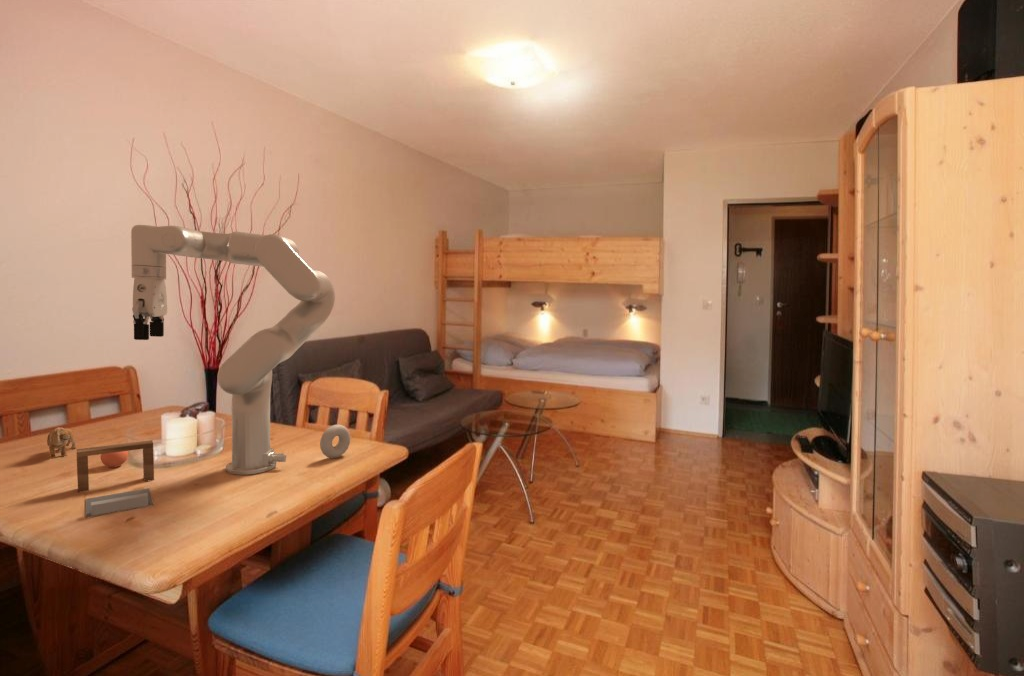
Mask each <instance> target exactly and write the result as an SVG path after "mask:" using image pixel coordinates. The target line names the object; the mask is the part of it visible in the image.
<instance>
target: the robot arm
mask: <svg viewBox="0 0 1024 676" xmlns="http://www.w3.org/2000/svg"><path fill="white" fill-rule="evenodd" d="M130 235H131V236H130V239H131V241H130V242H131V243H130V244H131V245H130V246H131V247H130V248H131V250H130V251H131V252H130V253H131V255H130V256H131V278H132V279H133V286H132V288H133V289H132V309H131V310H132V314H133V315H132V318H133V321H132V323H133V339H134V340H135V341H148V340H150V337H154V338H155V337H156V338H157V337H160V338H161V337H164V334H165V332H164V330H165V329H164V328H165V327H164V326H165V325H164V324H165V322H164V321H165V318H164V316H166V315H167V314H168V298H167V297H168V296H167V287H166V281H165V280H167V254H168V255H171V256H178V257H179V256H180V257H187V258H194V259H204V260H214V261H221V262H223V261H224V262H228V263H230V264H236V265H245V266H247V265H248V266H255V267H264V269H265V270H266V271H267V272H268V273H269V274H270V275H271V276H272V278H274V279H275V281H276V282H278V284H279V285H280V286H281V287H282V288H283V289H284V290H285V291H286V292H287V293H288V294H289V295H290V296H291V297H293V298H294V299H296V300H298V301H299V303H298V304H296V306H294V307H293V308H292V309H291V310H290V311H289V312H288V313H286V315H285V316H284V317H283V318H282V319H281V320H279V321H278V322H277V323H275V325H273V326H271V327H267V328H263V329H262V330H259V331H256V333H254V334H253V335H252V336H250V337H249V338H248V339H247V340H246V341H245V342H243V344H242V345H241V346H240V347H239V348H238V349H237V350H235V351H234V352H233V353H232V354H231V355H230V356H229V357H228V358H227V359H226V360H225V361H224V362H223V363H222V364H221V365H220V367H219V369H218V372H217V376H216V377H217V383H218V386H219V387H220V389H221V390H223V392H224V393H227V394H229V395H232V396H231V458H232V459H231V461H230V462H227V464H225V471H226V472H227V473H228V474H232V475H254V474H260V473H264V472H267V471H270V470H272V469H275V467H276V466H277V463H286V461H287V454H285V453H284V452H281V453H280V452H279V453H276V452H274V451H275V450H274V447H273V448H271V392H272V391H271V389H272V385H273V383H272V382H273V369H275V368H276V367H277V366H278V365H279V364H280V363H282V362H285V361H287V360H288V359H290V358H291V357H292V356H293V355H294V354H295V353H296V352H297V351H298V349H300V348H301V347H302V346H303V344H304V343H306V342H307V340H309V339H310V338H311V336H313V334H314V333H316V331H317V330H319V329H320V327H321V326H322V325H324V324H325V322H326V320H327V319H328V318H329V317H330V315H331V314H332V311H333V309H334V306H335V303H336V302H335V300H336V299H335V298H336V295H335V294H336V293H335V288H334V285H333V282H332V281H331V279H330V278H329V276H328V275H327V274H326V273H324V272H322V271H320V270H316V269H312V268H311V267H310V266H309V265H308V264H307V263H306V262H305V261H304V259H302V258H301V257H300V254H299V253H300V250H299V248H298V245H297V244H296V243H295V241H293V240H292V239H291V238H288V237H285V236H283V235H281V234H280V235H279V234H271V233H270V234H259V233H250V232H243V231H231V232H230V233H221V232H210V231H202V230H195V229H191V228H187V227H182V226H179V225H161V226H156V225H149V224H148V225H146V224H136V225H133V226H132V228H131V232H130ZM149 319H150V321H149ZM148 323H149V324H148Z"/></svg>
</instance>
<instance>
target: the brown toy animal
mask: <svg viewBox="0 0 1024 676" xmlns="http://www.w3.org/2000/svg"><path fill="white" fill-rule="evenodd" d="M46 441H47V443H46V444H47V447H49V454H50V456H49V457H48V458H49V459H50V458H51V459H55V458H54V457H56V454H55V453H60V455H61V457H62V458H65V457H64V456H66V457H68V454H67V452H66V451H67V447H68V446H69V445H70V443H71V447H70V446H69V447H70V449H72V450H74V448H75V449H77V446H76V440H75V438H74V433H73V431H72V429H69V428H63V427H56V428H54V429H52V430H51V431H50V432H49V433H48V436H47V439H46ZM55 449H56V450H55Z"/></svg>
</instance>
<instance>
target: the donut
mask: <svg viewBox="0 0 1024 676" xmlns="http://www.w3.org/2000/svg"><path fill="white" fill-rule="evenodd" d="M335 437H338V441H337V444H336V445H335V446H333V440H334V439H335ZM319 441H320V443H319V446H320V447H319V448H320V450H321V452H322V454H323V455H324V456H325V457H327V458H330V459H336V457H337V458H339V457H341V456H342V455H344V454H345V453H346V452H347V450H348V449H349V447H350V443H351V434H350V431H349V429H348V428H347V427H346V426H344V425H342V424H333V425H330V426H328V428H326V429H325V430H324V432H323V433H322V435H321V437H320V440H319Z"/></svg>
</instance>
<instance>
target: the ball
mask: <svg viewBox="0 0 1024 676" xmlns="http://www.w3.org/2000/svg"><path fill="white" fill-rule="evenodd" d="M128 458H129V451H122V452H114V453H106V454H100V461H101V463H102V464H103V465H104V466H106V467H109V468H117V467H119V466H122V465H123V464H125V462H127V460H128Z"/></svg>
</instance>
